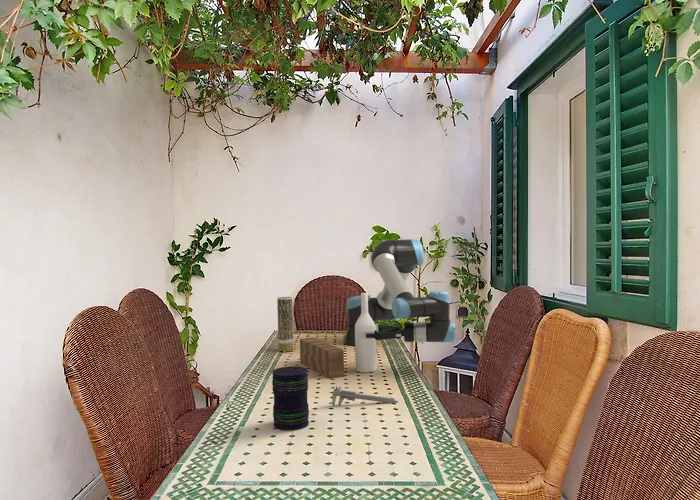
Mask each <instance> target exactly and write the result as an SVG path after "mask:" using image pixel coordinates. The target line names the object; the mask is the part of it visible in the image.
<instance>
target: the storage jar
mask: <svg viewBox="0 0 700 500" xmlns="http://www.w3.org/2000/svg"><path fill="white" fill-rule="evenodd" d="M271 374H272V375H271V376H272V381H271V384H272V393H273V406H272V411H273V412H272V417H273V428H274V427H275V428H274V429H277V430H278V429H279V431H283V430H284V431H285V432H286V431H287V432H290V431H291V432H293V431H299V430H303V429H305V428H308V426H309V425H310V424H309V422H310V421H309V417H310V416H309V415H310V409H309V408H310V407H309V403H308V391H309V378H308V376H309V375H308V369H307V368H306V367H303V366H295V365H293V366H292V365H290V366H282V367H278V368H275V369H273V370H272V373H271Z"/></svg>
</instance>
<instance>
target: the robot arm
mask: <svg viewBox="0 0 700 500" xmlns="http://www.w3.org/2000/svg"><path fill="white" fill-rule="evenodd" d="M424 253H425V252H424V248H423V245H422V242H421V241H420V240H419V239H412V238H410V239H386V240H381V242H378V243H377V244H376V246H375V247H374V248H373V250H372V252H371V256H370V261H371V265H372V267H373V269H374V270H375V271H376V272H378V273H379V275H380V277H381V279H382V281H383V283H384V286H383V288H382V290H381V291H380V292H378V294H377V296H376V297H371V295H370V294H368V313H369V315H370V317H371V318H372V320H373V321H374V322H375V321H376V322H378V321H379V322H380V321H393V320H397V319H403V320H405V319H414V318H415V319H416V318H429V322H428V321H427V322H425V321H423V322H422V321H416V322H415V323H414V322H411V321H410V322H404V324H403V325H390V324H380V325H375V328H376V330H375V331H358V332H357V339H376V341H382V340H393V339H397V340H398V339H402V337H404V338H403V339H404V340H403V341H404V342H405V343H414V342H416V343H421V344H424V343H442V344H443V343H453V342H455V341H456V339H457V338H456V323H455V322H454V321H453V322H452V321H451V320H450V310H451V309H450V305H451V303H450V294H449V292H448V291H445V290H431V291H429V293H428V296H421V297H420V296H419V297H415V296H414V294H413V293H412V291H411V289H410V288H409V287H408V284H407V283H406V281H407V279H408V276H409V274H410V273H413V271H414V270H415V268H416V266H418V267H419V266H422V265H423V263H424V259H425V254H424ZM360 315H361V294H360V295H355V296H352V297H348V298H347V301H346V321H347V322H346V323H347V326H346V327H347V328H346V331H345V335H344V339H343V343H344V345H346V346H352V347H355V324H356V322H357V320H358V318H359V317H360Z"/></svg>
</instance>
